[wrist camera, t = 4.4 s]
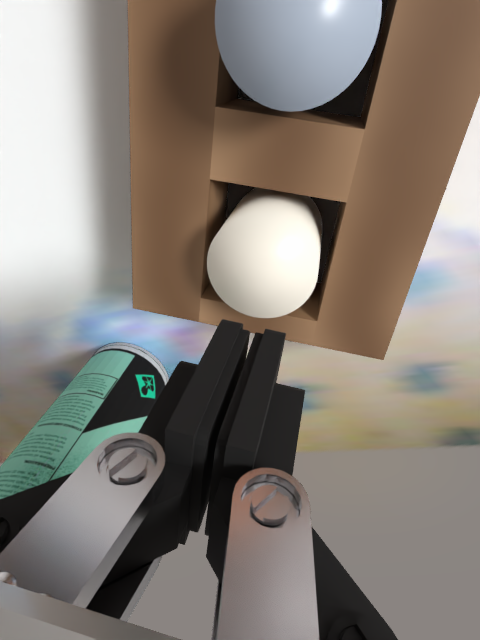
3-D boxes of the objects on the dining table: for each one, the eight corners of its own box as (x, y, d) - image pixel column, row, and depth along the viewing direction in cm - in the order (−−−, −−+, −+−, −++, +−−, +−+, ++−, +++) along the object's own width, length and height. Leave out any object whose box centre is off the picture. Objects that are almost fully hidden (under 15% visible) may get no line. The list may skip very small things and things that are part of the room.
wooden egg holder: (656, -525, 11) (805, -801, 7) (377, 316, 23) (383, 359, 20) (179, -524, 12) (114, -757, 8) (161, 274, 24) (132, 308, 21)
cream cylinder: (332, 191, 20) (329, 225, 16) (312, 278, 22) (306, 327, 18) (237, 175, 20) (211, 204, 16) (227, 262, 22) (203, 306, 18)
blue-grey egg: (386, -42, 14) (405, -81, 10) (352, 107, 17) (357, 122, 13) (255, -56, 15) (222, -100, 11) (240, 90, 17) (208, 99, 13)
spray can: (106, 407, 31) (-175, 825, 14) (80, 343, 28) (-303, 760, 11) (178, 408, 30) (-38, 872, 13) (158, 340, 27) (-148, 810, 10)
